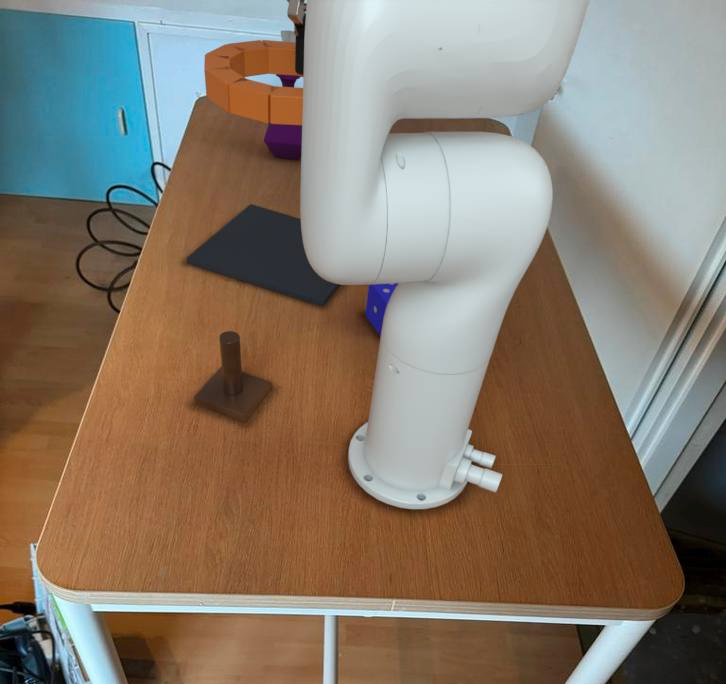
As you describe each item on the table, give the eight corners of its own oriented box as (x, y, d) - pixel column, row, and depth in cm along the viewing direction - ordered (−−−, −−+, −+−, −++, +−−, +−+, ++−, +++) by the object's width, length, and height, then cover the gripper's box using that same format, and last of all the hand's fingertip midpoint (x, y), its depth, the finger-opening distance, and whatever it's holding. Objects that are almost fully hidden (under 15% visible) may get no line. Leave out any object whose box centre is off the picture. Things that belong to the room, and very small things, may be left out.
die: (364, 315, 82) (368, 280, 78) (399, 309, 84) (404, 275, 80) (381, 338, 79) (386, 303, 75) (416, 331, 81) (423, 297, 77)
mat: (372, 245, 94) (373, 240, 93) (322, 306, 82) (323, 301, 82) (250, 209, 97) (250, 203, 97) (186, 263, 86) (186, 257, 85)
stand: (271, 389, 71) (270, 330, 65) (245, 423, 67) (241, 362, 61) (223, 373, 72) (218, 312, 66) (194, 405, 68) (186, 344, 62)
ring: (384, 89, 79) (387, 64, 77) (325, 139, 68) (327, 110, 66) (253, 56, 82) (252, 30, 80) (175, 98, 71) (172, 69, 69)
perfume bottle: (307, 165, 109) (312, 42, 95) (263, 160, 109) (261, 36, 95) (310, 147, 114) (315, 27, 100) (268, 142, 113) (267, 21, 100)
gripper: (322, -120, 60) (314, 97, 74) (383, -132, 70) (365, 61, 84) (251, -134, 61) (255, 82, 75) (320, -144, 71) (313, 48, 85)
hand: (314, 69), depth 79 cm, fingers closed on ring, 2 cm apart
